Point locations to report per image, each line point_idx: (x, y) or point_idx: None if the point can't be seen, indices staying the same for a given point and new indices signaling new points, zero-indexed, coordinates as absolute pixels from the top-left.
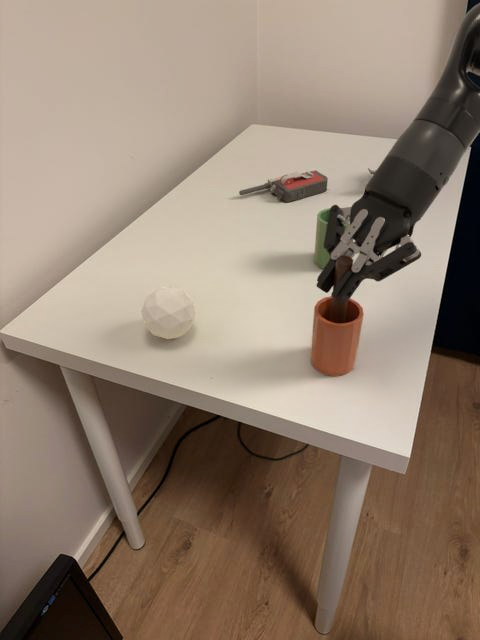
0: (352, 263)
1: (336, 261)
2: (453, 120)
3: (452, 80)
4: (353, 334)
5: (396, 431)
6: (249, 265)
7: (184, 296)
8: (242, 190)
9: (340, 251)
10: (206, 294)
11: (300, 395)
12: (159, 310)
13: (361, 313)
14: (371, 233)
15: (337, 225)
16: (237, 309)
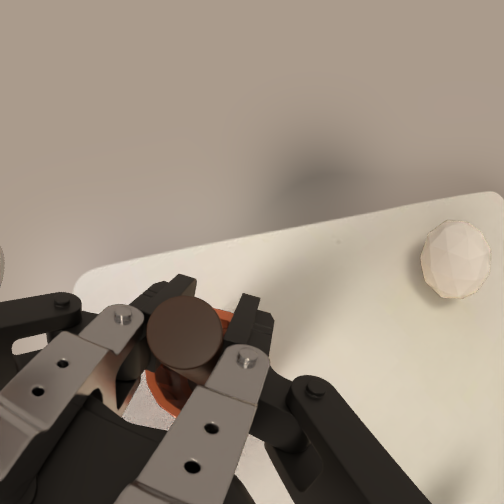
0: (146, 333)
1: (211, 306)
2: None
3: None
4: None
5: (83, 298)
6: (465, 466)
7: (464, 262)
8: None
9: (227, 370)
10: (466, 366)
11: (217, 283)
12: (455, 222)
13: (151, 383)
14: (41, 409)
15: (344, 493)
16: (417, 377)
